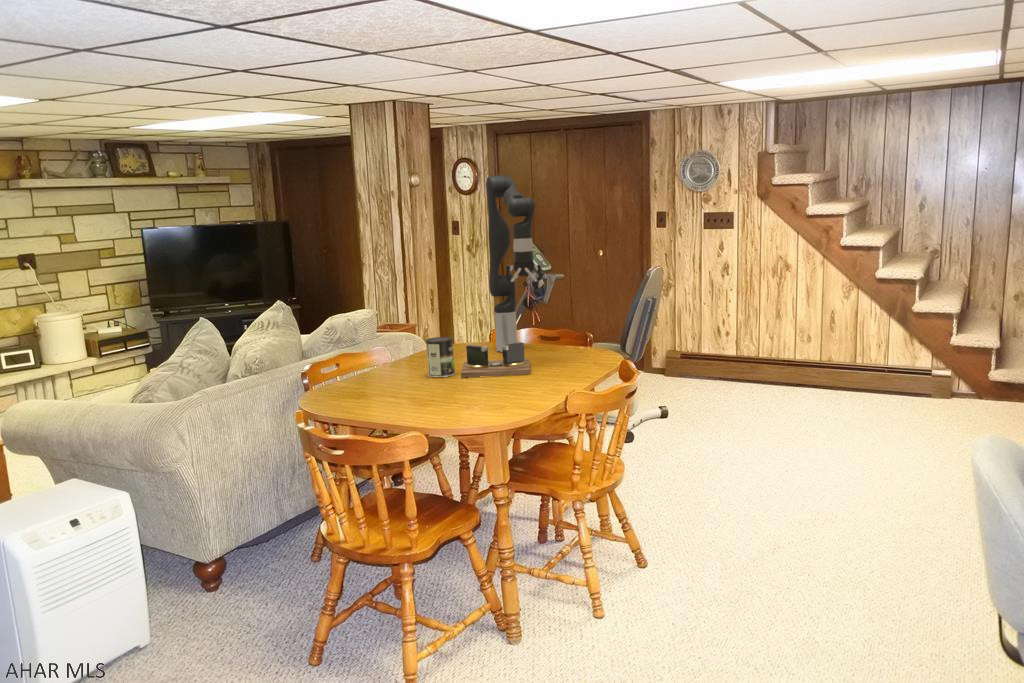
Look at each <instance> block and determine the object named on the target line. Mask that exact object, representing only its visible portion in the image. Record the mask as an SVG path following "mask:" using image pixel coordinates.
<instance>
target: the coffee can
mask: <svg viewBox="0 0 1024 683" xmlns="http://www.w3.org/2000/svg"><path fill="white" fill-rule="evenodd" d="M453 340H454V339H453V337H450V336H437V337H431V338H427V339H425V344H426V347H425V348H426V357H427V370H428V377H429V376H430V377H429V378H432V377H444V378H449V377H448V376H450V377H453V376H455V375H456V372H455V362H454V361H455V360H454V345H453ZM454 374H455V375H454ZM452 375H453V376H452Z"/></svg>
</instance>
